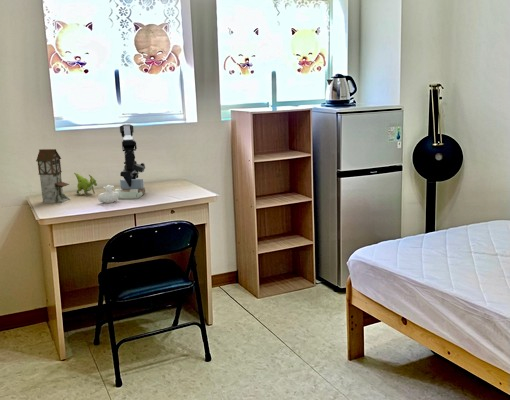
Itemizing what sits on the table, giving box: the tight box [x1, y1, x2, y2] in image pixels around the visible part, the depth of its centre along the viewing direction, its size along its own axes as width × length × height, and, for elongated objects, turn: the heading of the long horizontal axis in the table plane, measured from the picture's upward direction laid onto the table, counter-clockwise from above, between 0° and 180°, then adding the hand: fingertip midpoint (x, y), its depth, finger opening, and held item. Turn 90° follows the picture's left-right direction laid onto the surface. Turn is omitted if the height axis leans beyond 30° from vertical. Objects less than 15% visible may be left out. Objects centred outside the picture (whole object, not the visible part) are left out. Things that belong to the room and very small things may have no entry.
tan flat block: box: [122, 187, 146, 194], centre depth 331 cm, size 8×14×3 cm, turn 81°
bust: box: [97, 184, 119, 204], centre depth 309 cm, size 12×8×11 cm
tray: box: [118, 191, 143, 200], centre depth 323 cm, size 9×17×4 cm, turn 81°
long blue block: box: [119, 178, 145, 189], centre depth 332 cm, size 4×13×6 cm, turn 81°
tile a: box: [113, 188, 122, 192], centre depth 324 cm, size 4×4×2 cm
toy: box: [73, 172, 98, 196], centre depth 336 cm, size 8×21×15 cm
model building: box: [35, 148, 71, 204], centre depth 316 cm, size 10×15×30 cm
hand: (132, 185), depth 333 cm, fingers open, 6 cm apart
